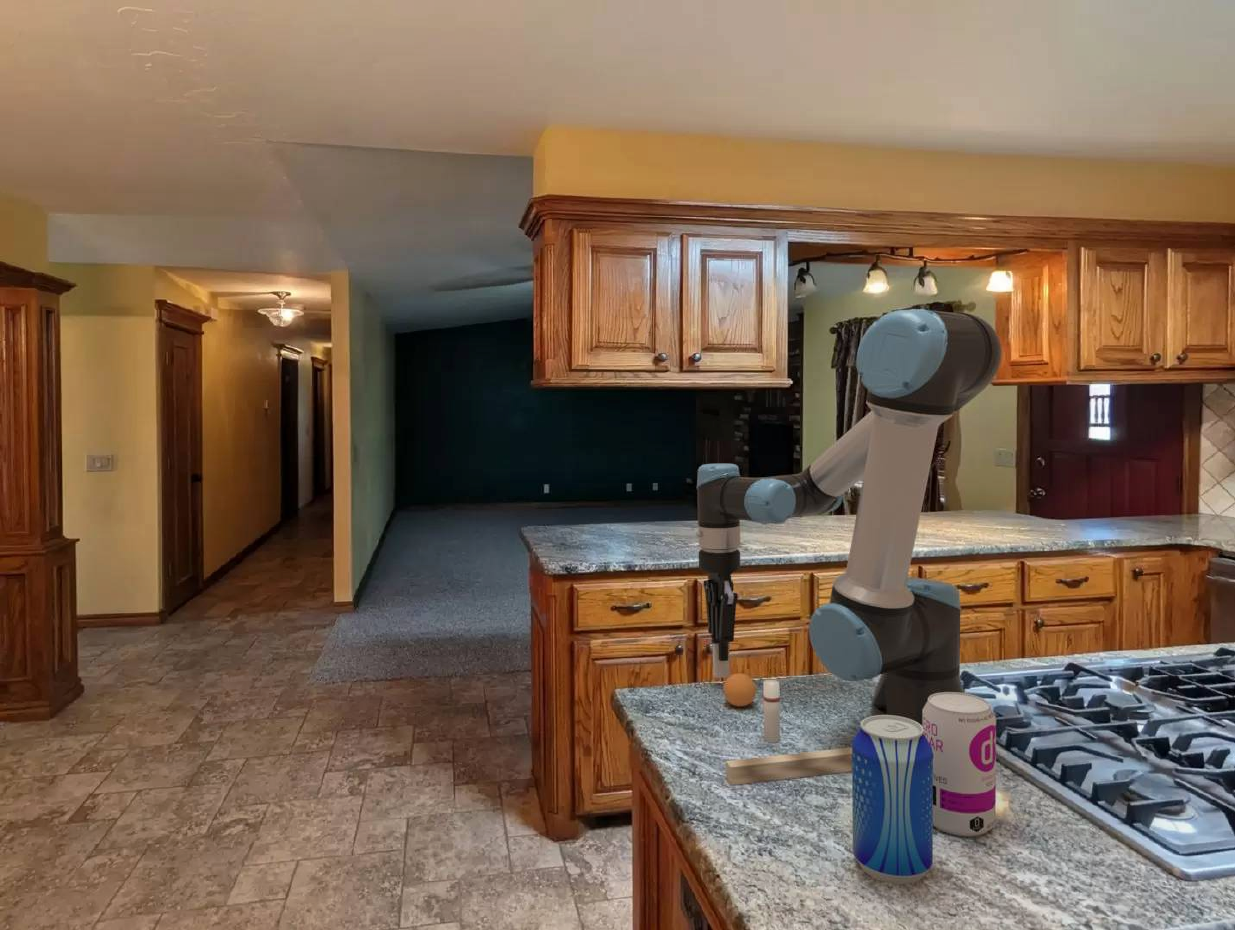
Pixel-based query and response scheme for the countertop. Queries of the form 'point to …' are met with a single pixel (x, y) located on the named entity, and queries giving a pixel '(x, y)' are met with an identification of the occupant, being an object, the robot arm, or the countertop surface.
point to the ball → (739, 689)
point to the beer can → (892, 799)
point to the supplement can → (962, 762)
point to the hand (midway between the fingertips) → (721, 676)
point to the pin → (771, 711)
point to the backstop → (789, 766)
